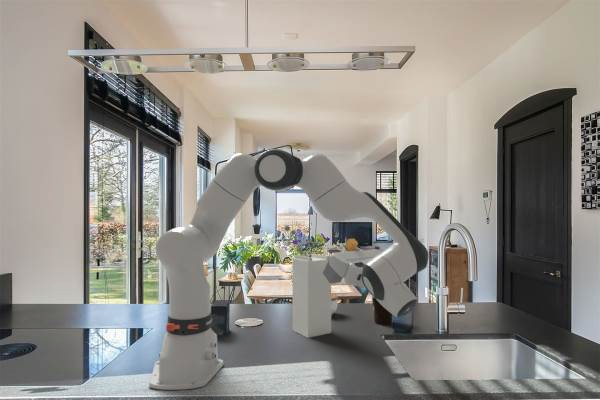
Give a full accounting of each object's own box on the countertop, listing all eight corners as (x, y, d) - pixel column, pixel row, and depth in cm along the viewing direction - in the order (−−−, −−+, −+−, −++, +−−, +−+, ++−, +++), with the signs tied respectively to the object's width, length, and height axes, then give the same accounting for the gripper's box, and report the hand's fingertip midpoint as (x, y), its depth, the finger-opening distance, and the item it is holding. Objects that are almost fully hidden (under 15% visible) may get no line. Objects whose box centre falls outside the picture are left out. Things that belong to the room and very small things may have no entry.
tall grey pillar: (331, 333, 143) (331, 256, 144) (307, 337, 138) (307, 257, 138) (315, 326, 151) (315, 253, 152) (292, 330, 146) (292, 255, 147)
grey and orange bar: (360, 243, 127) (352, 233, 130) (349, 243, 124) (341, 233, 128) (340, 282, 135) (333, 271, 138) (330, 283, 132) (322, 272, 136)
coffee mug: (390, 327, 150) (390, 300, 151) (368, 323, 155) (368, 297, 155) (400, 320, 160) (399, 294, 160) (379, 316, 165) (379, 292, 165)
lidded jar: (313, 310, 175) (313, 289, 175) (338, 311, 173) (338, 289, 173) (310, 317, 164) (311, 294, 164) (337, 318, 162) (337, 295, 163)
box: (226, 336, 139) (226, 305, 139) (210, 336, 139) (210, 305, 139) (229, 329, 147) (229, 300, 147) (214, 329, 146) (214, 300, 147)
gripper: (400, 261, 123) (373, 237, 134) (349, 267, 112) (323, 239, 122) (393, 278, 126) (367, 252, 136) (342, 285, 115) (317, 256, 125)
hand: (346, 246), depth 129 cm, fingers closed on grey and orange bar, 2 cm apart
